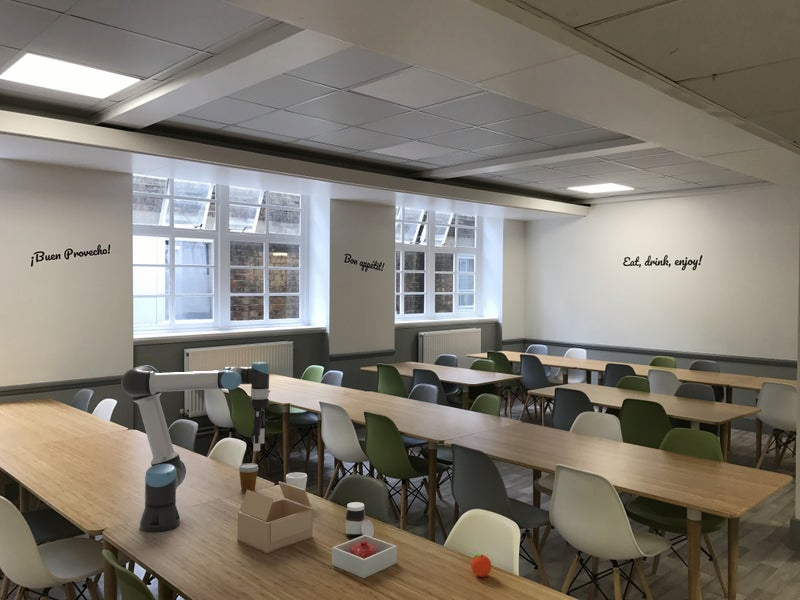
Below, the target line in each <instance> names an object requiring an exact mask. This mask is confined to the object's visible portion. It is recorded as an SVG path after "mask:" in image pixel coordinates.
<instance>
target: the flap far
mask: <svg viewBox="0 0 800 600" xmlns="http://www.w3.org/2000/svg"><path fill="white" fill-rule="evenodd" d="M277 483H278V485H279V487H280V490H281V494H282V496H283V499H286V500H292V501H295V502H298V503H300V504H303V506H306V507H309V508H312V504H311V501H310V499H309V496H308V494H307V491H306V488H305V489H302V488H299V487H296V486H293V485H289V484H287V482H283V481H278V482H277Z"/></svg>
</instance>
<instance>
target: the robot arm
mask: <svg viewBox="0 0 800 600" xmlns="http://www.w3.org/2000/svg"><path fill="white" fill-rule="evenodd" d="M120 384H121V389H122V390H123V392H124V393H125V394H126V395H128V396H129V397H132V398H131V399H132V402H134V403H136V404H137V405H138V408H139V412H140V416H141V418H142V422H143V425H144V429H145V433H146V437H147V441H148V444H149V447H150V450H151V451H150V452H151V454H152V460H151V462H150V467H149V468H148V469H147V470H146V472H145V476H144V479H145V480H144V482H145V483H144V485H145V487H144V489H145V490H144V510H143V512H142V514H141V518H140V521H139V529H140V530H141V531H144V532H150V533H157V532H164V531H171V530H172V529H176V528H177V527H178V526H180V524H181V517H180V513H179V512H178V511H179V510H178V508H177V504H176V502H177V501H176V499H177V497H176V496H177V489H178V487H179V486H180V485H182V483H183V481H184V480H185V478H186V474H187V467H186V465H185V463H184V461H183V460H181V458H180V457H181V456H180V454H179V452H176V451H175V449H174V446H173V442H172V439H171V436H170V431H169V429H168V428H169V427H168V425H167V421H166V417H165V413H164V411H163V408H162V404H161V400H160V396H161V395H162V393H163V392H164V393H165V392H184V391H185V392H186V391H187V392H188V391H201V390H202V391H205V390H228V391H232V390H236V389H237V388H238V387H240V385H251V388H250V397H251V399H250V407H251V408H253V409H255V411H254V414H253V415H254V419H253V430H252V431H253V433H251V436H252V437H253V449H252V450H253V452H260V451H261V445H262V444H265V429H266V428H267V425H266V418H265V417H266V416H265V412H266V410H265V409H266V408H268V407H269V405H270V401H269V397H270V395H269V394H270V393H271V390H270V363H268V362H265V361H255V362H252V363H251V366H225V367H223V370H207V371H184V372H161V373H160V372H159V371H158V369H157V368H155V367H154V366H152V365H147V364H146V365H145V364H143V365H139V366H136V367H134V368H131V369H128V370H127V371H125V372H124V373H123V375H122V377H121V380H120Z"/></svg>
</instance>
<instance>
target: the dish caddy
mask: <svg viewBox="0 0 800 600" xmlns="http://www.w3.org/2000/svg"><path fill="white" fill-rule="evenodd" d="M363 540H365V541H367V544H371V545H372V546H373V547H374V548H375V549H376V551H377V554H374V555H372V556H370V557H367V558H365V559H363V558H361V557H358V556H356V555H353V554H350V550H351V548H352V547H353V546H355V545H359V544H360V542H361V541H363ZM397 551H398V546H397V545H395V544H393V543H389V542H387V541H384V540H381V539H378V538H375V537H370V536H367V535H363V536H360V537H354V538H353V539H351V540H348V541H345V542H342V543H340V544H337V545H335V546H332V548H331V566H333V567H336V568H339V569H341V570H344V571H346V572H348V573H350V574H353V575H355V576H357V577H360V578H361V579H362V578H363V579H365V578H367V577H369V576H372V575H374V574H375V573H378V572H380V571H383V570H385V569H386V568H389V567H390V566H393V565H396V564H397V562H398V560H397V558H398V557H397V556H398V555H397V554H398V553H397Z"/></svg>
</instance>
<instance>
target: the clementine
mask: <svg viewBox="0 0 800 600" xmlns="http://www.w3.org/2000/svg"><path fill="white" fill-rule="evenodd" d="M471 558H472V559H471ZM470 559H471V563H470V567H471V571H472V572H473V574H475V575H476V576H477V577H482V578H483V577H486V576H487V575H489V574H490V573H491V571H492V567H493V566H492V562H491V560H490V558H489V557H488V556H487V555H485V554H479V553H477V554H473V555H471V556H470V557H469V558H468V560H470Z"/></svg>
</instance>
